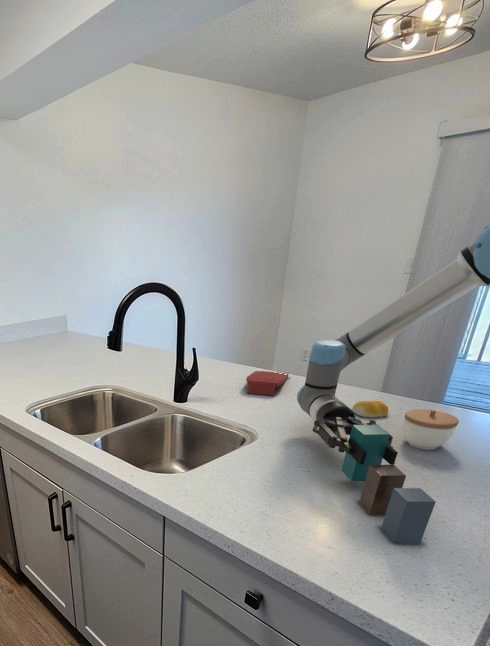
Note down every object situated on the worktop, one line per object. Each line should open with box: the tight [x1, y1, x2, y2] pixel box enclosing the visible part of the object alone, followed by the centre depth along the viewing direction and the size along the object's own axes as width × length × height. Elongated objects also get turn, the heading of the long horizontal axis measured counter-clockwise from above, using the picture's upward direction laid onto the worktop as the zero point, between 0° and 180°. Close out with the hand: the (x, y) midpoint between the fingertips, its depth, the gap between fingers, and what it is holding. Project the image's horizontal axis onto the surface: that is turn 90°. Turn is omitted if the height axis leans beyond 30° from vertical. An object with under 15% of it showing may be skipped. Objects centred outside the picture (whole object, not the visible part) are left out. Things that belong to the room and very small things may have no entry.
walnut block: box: [358, 464, 407, 516], centre depth 86 cm, size 4×4×9 cm
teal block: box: [340, 424, 391, 483], centre depth 92 cm, size 5×5×11 cm
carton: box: [246, 370, 289, 397], centre depth 160 cm, size 12×5×25 cm
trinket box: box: [402, 408, 460, 451], centre depth 109 cm, size 11×11×9 cm
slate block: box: [380, 487, 437, 545], centre depth 78 cm, size 4×4×9 cm
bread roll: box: [351, 400, 389, 419], centre depth 130 cm, size 8×9×4 cm
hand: (378, 458), depth 87 cm, fingers closed on teal block, 5 cm apart
